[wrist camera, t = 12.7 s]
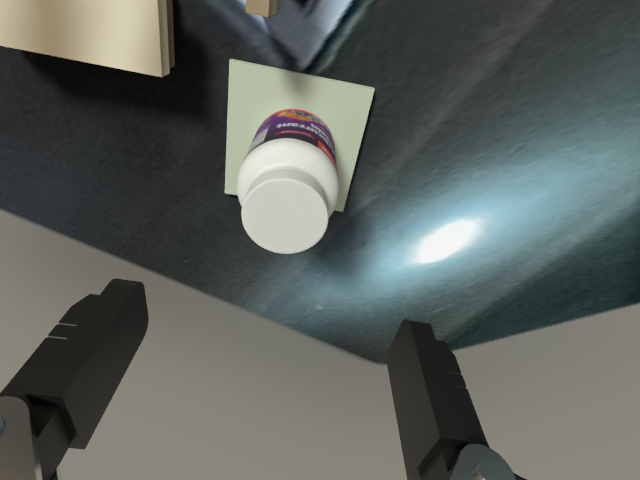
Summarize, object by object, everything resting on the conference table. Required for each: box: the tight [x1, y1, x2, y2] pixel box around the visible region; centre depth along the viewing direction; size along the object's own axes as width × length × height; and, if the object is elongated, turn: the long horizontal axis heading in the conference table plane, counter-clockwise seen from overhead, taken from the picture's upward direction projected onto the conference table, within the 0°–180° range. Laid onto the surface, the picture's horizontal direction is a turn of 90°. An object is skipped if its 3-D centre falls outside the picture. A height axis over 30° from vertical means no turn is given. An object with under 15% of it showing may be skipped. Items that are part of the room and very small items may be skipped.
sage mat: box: [225, 59, 375, 212], centre depth 24 cm, size 9×9×1 cm
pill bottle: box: [237, 108, 339, 254], centre depth 20 cm, size 5×5×10 cm
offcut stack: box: [0, 0, 175, 77], centre depth 18 cm, size 10×4×4 cm, turn 79°
